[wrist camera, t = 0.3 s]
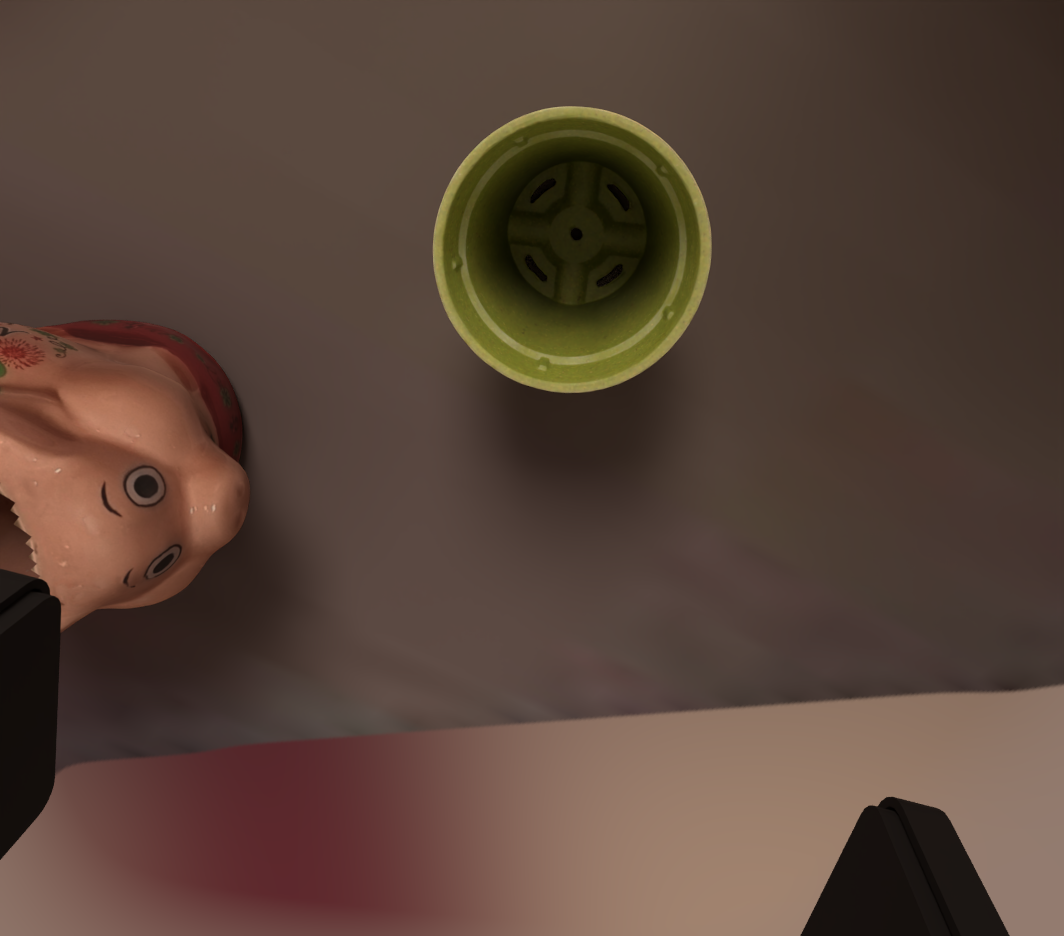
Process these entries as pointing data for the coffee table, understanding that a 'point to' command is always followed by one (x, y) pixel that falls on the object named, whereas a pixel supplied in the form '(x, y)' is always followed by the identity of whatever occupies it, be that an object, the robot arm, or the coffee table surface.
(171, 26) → the coffee table surface
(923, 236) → the coffee table surface
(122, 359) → the decorative planter
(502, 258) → the plant pot
